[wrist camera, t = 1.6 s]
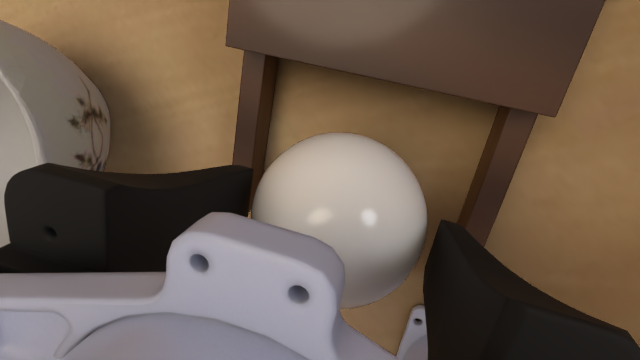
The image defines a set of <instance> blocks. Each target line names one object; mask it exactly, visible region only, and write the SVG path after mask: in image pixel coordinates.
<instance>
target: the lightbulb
mask: <svg viewBox="0 0 640 360" xmlns="http://www.w3.org/2000/svg"><path fill="white" fill-rule="evenodd" d="M251 219H254V220H257V221H261V222H264V223H268V224H271V225H275V226H278V227H282V228H285V229H288V230H292V231H295V232H299V233H302V234H306V235H309V236H313V237H315V238H317V239H319V240H320V241H322V242H324V243H326V244H327V245H329V246H331V247H333V249H334V250H335V252H336V253H337V255H338V256H339V258H340V259H341V260H342V262H343V263H344V270H345V286H344V289H343V293H342V297H341V302H340V309H352V308H358V307H362V306H366V305H369V304H371V303H374V302H376V301H378V300H380V299H382V298H384V297H386V296H387V295H389V294H390V293H391V292H393V291H394V290H395V289H397V288H398V287H399V286H400V285H401V284H402V283H403V282H404V281H405V280H406V279H407V277H408V276H409V275H410V273H411V272H412V271H413V269H414V267H415V266H416V264H417V262H418V260H419V258H420V256H421V253H422V250H423V247H424V244H425V239H426V234H427V209H426V203H425V199H424V195H423V192H422V189H421V187H420V184H419V182H418V180H417V178H416V177H415V175H414V173H413V172H412V170H411V169H410V168H409V166H408V165H407V164H406V163H405V161H404V160H403V159H402V158H401V157H400V156H399V155H397V154H396V153H395V152H394V151H393V150H391V149H390V148H389V147H387V146H386V145H384V144H382V143H380V142H378V141H376V140H374V139H372V138H369V137H366V136H363V135H359V134H355V133H347V132H330V133H323V134H318V135H314V136H311V137H308V138H306V139H303V140H301V141H299V142H297V143H296V144H294V145H292V146H291V147H289V148H288V149H286V150H285V151H284V152H283V153H281V154H280V155H279V156H278V157H277V158H276V159H275V160H274V161H273V162H272V163H271V165H270V166H269V167H268V169H267V170H266V171H265V173H264V175H263V176H262V178H261V180H260V182H259V184H258V186H257V189H256V192H255V195H254V199H253V203H252V209H251Z"/></svg>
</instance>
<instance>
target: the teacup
mask: <svg viewBox="0 0 640 360" xmlns="http://www.w3.org/2000/svg"><path fill="white" fill-rule="evenodd" d="M110 128H111V123H110V115H109V110H108V107H107V105H106V102H105V100H104V98H103V96H102V94H101V92H100V91H99V90H98V88H97V87H96V86H95V84H94V83H93V82H92V81H91V80H90V79H89V78H88V77H87V76H86V75H85V74H84V73H83V72H82V71H81V70H80V68H79V67H78V66H77V65H76V64H74V63H73V62H72V61H71V60H70V59H69V58H67V57H66V56H65V55H64V54H62V53H61V52H60V51H58V50H57V49H56V48H54V47H53V46H51V45H50V44H48V43H46V42H45V41H43V40H42V39H40V38H38V37H36V36H34V35H32V34H31V33H29V32H27V31H25V30H23V29H20V28H18V27H16V26H13V25H11V24H9V23H6V22H4V21H1V20H0V248H1V247H3V246H5V245H7V244H9V243H11V242H10V240H9V234H8V227H7V220H6V213H5V206H4V193H5V189H6V186H7V183H8V181H9V180H10V179H11V177H12V176H13V175H15V174H16V173H18V172H20V171H23V170H26V169H29V168H32V167H35V166H38V165H41V164H45V163H54V164H58V165H64V166H69V167H75V168H80V169H87V170H94V171H102V172H103V170H104V167H105V164H106V161H107V158H108V153H109V148H110Z"/></svg>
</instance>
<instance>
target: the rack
mask: <svg viewBox="0 0 640 360" xmlns="http://www.w3.org/2000/svg"><path fill="white" fill-rule="evenodd" d="M604 2H605V0H229V12H228V23H227V35H226V46H228V47H232V48H237V49H241V50H244V57H243V67H242V77H241V86H240V96H239V105H238V115H237V125H236V134H235V144H234V153H233V163H232V165H241V166H245V167H248V168H252V169H254V172H253V180H252V188H251V196H250V204H249V211H248V213H249V212H250V211H251V209H252V203H253V199H254V195H255V192H256V189H257V186H258V184H259V182H260V180H261V178H262V175H263V168H264V161H265V153H266V146H267V139H268V132H269V124H270V117H271V110H272V103H273V95H274V88H275V81H276V73H277V66H278V59H279V58H283V59H287V60H292V61H297V62H301V63H306V64H310V65H315V66H320V67H324V68H329V69H333V70H338V71H343V72H347V73H352V74H356V75H361V76H366V77H370V78H375V79H380V80H384V81H389V82H393V83H398V84H403V85H407V86H412V87H416V88H421V89H426V90H430V91H435V92H439V93H444V94H449V95H453V96H458V97H462V98H467V99H472V100H476V101H481V102H485V103H490V104H495V105H499V106H500V107H499V110H498V113H497V116H496V118H495V121H494V124H493V126H492V129H491V132H490V135H489V137H488V140H487V143H486V146H485V148H484V151H483V154H482V157H481V159H480V162H479V165H478V168H477V170H476V173H475V176H474V179H473V181H472V184H471V187H470V190H469V192H468V195H467V198H466V200H465V203H464V206H463V209H462V211H461V214H460V217H459V220H458V222H457V224H459V225H461V226H462V227H463V228H464V229H466V230H467V231H468V232H469V233H470V234H471V235H472V236H473V237H474V238H475V239H476V240H477V241H478V242H479V243H480V244H481V245H482V246H483V247H484V246H485V244H486V241H487V239H488V236H489V234H490V231H491V229H492V226H493V224H494V221H495V219H496V216H497V214H498V212H499V209H500V207H501V204H502V202H503V199H504V197H505V194H506V192H507V189H508V187H509V184H510V182H511V180H512V177H513V175H514V172H515V170H516V167H517V165H518V162H519V160H520V157H521V155H522V152H523V150H524V148H525V145H526V143H527V140H528V138H529V135H530V133H531V130H532V128H533V125H534V123H535V120H536V118H537V116H538V114H541V115H545V116H550V117H556V115H557V113H558V111H559V108H560V106H561V104H562V101H563V99H564V97H565V94H566V92H567V89H568V87H569V85H570V82H571V80H572V78H573V75H574V73H575V71H576V68H577V66H578V64H579V61H580V59H581V57H582V54H583V52H584V50H585V47H586V45H587V42H588V40H589V38H590V35H591V33H592V31H593V28H594V26H595V24H596V21H597V19H598V17H599V14H600V12H601V10H602V7H603V5H604Z"/></svg>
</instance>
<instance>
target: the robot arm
mask: <svg viewBox="0 0 640 360" xmlns="http://www.w3.org/2000/svg"><path fill="white" fill-rule="evenodd" d="M253 172H254V169H252V168H248V167H245V166H241V165H228V166H221V167H214V168H208V169H202V170H194V171H186V172H179V173H167V174H125V173H111V172H102V171H94V170H87V169H80V168H75V167H69V166H64V165H58V164H54V163H45V164H41V165H38V166H35V167H32V168H29V169H26V170H23V171H20V172H18V173H16V174H15V175H13V176H12V177H11V179H10V180H9V181H8V183H7V186H6V189H5V193H4V206H5V213H6V220H7V227H8V234H9V240H10V242H11V243H9V244H7V245H5V246H3V247H1V248H0V360H640V348H639V346H638V345H637V344H636V342H635V341H634V339H633V338H632V337H631V335H630V334H629V333H628V331H626V330H624V329H621V328H619V327H616V326H614V325H611V324H609V323H606V322H604V321H601V320H599V319H596V318H594V317H591V316H589V315H587V314H585V313H582V312H580V311H578V310H576V309H574V308H572V307H570V306H568V305H566V304H564V303H562V302H560V301H558V300H556V299H554V298H552V297H551V296H549V295H547V294H546V293H544V292H542V291H540V290H539V289H537V288H535V287H534V286H532V285H531V284H529V283H527V282H526V281H525V280H523V279H522V278H520V277H519V276H517V275H516V274H515V273H513V272H512V271H511V270H509V269H508V268H507V267H505V266H504V265H503V264H502V263H501V262H499V261H498V260H497V259H496V258H495V257H494V256H493V255H491V254H490V253H489V252H488V251H487V250H486V249H485V248H484V247H483V246H482V245H481V244H480V243H479V242H478V241H477V240H476V239H475V238H474V237H473V236H472V235H471V234H470V233H469V232H468V231H467V230H466V229H464V228H463V227H462V226H461V225H459V224H457V223H453V222H450V221H446V220H442V219H441V221H440V224H439V227H438V230H437V233H436V236H435V239H434V242H433V245H432V247H431V250H430V253H429V256H428V259H427V262H426V265H425V270H424V283H423V294H424V306H423V305H417V306H415V307H413V309H412V311H411V314H410V317H409V320H408V323H407V325H406V328H405V331H404V334H403V337H402V340H401V343H400V346H399V348H398V351H397V354H396V356H394V355H393V354H391V353H390V352H388V351H387V350H385V349H384V348H382V347H381V346H379V345H378V344H376V343H375V342H373V341H372V340H370V339H369V338H367V337H366V336H364V335H363V334H361V333H360V332H358V331H357V330H355V329H354V328H352V327H351V326H349V325H348V324H346V322H345V321H344V319H343V318H342V316H341V313H340V302H341V297H342V293H343V289H344V286H345V270H344V263H343V262H342V260H341V259H340V258H339V256H338V255H337V253H336V252H335V250H334V249H333V247H331V246H329V245H327V244H326V243H324V242H322V241H320V240H319V239H317V238H315V237H313V236H309V235H306V234H302V233H299V232H295V231H292V230H288V229H285V228H282V227H278V226H275V225H271V224H268V223H264V222H261V221H257V220H254V219H251V218H247V216H248V211H249V204H250V196H251V188H252V180H253ZM416 318H419V319H421V321H416V320H414V319H416Z"/></svg>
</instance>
